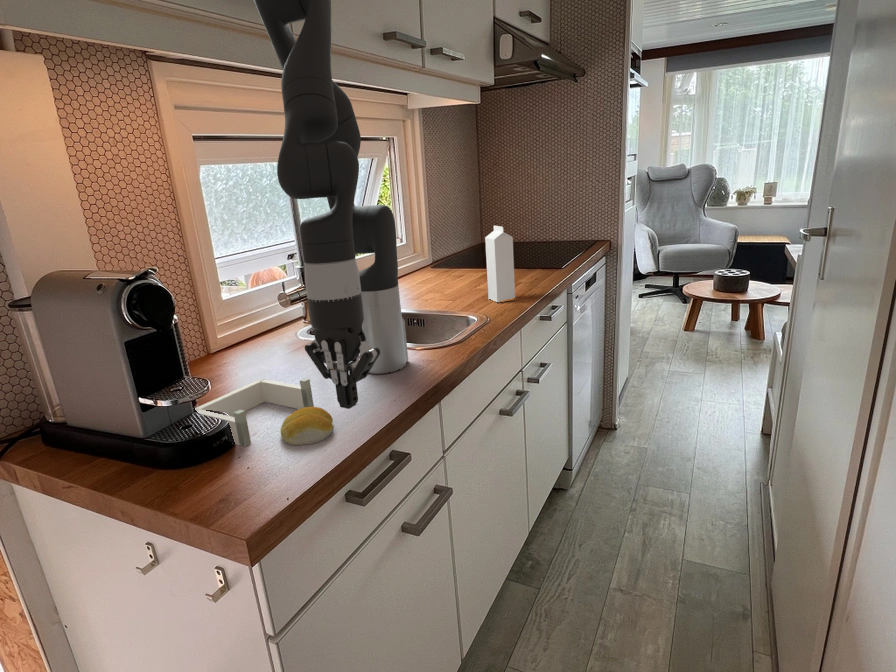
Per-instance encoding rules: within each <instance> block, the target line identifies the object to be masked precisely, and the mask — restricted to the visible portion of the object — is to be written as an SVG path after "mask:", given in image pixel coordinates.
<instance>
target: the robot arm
mask: <svg viewBox="0 0 896 672" xmlns="http://www.w3.org/2000/svg"><path fill="white" fill-rule="evenodd" d="M253 2H254V3H255V4H254V5H255V7H256V9H257V13H258V14H259V17H260V19H261V22H262V23H263V26H264V28H265V31H266V33H267V36H268V38H269V40H270V42H271V46H272V48H273V50H274V52H275V55H276V57H277V59H278V62H279V64H280V66H281V69H282V73H281V87H280V89H281V97H282V103H283V111H284V113H283V114H284V131H283V137H282V142H281V144H280V145H281V146H280V149H279V154H278V157H277V164H276V173H277V174H276V175H277V180H278V184H279V185H280V187H281V189H282V191H283V192H284V193H285V194H286V195H287V196H288V197H290V198H291V199H294V200H306V199H307V200H308V199H319V198H326V199H327V202H328V203H327V204H328V207H329V210H328V211H327V212H324V213H321V214H319V215H314V216H311V217H308V218H306V219H304V220H302V221H301V223H300V226H299V234H300V240H301V241H300V242H301V249H302V254H303V255H302V256H303V262H304V263H303V264H304V284H305V292H306V298H307V305H308V313H309V320H310V326H311V327H312V328H313V329H315V331H314V339H313V341H312V342H310V343H308V344H305V346H304V350H305V353H306V354H307V355H308V356H309V358H310V360H311V361H312V363H313V364H314V365H315V367H316V368H317V370H318V371H319V372H320V374H321V375H322V378H324V379H325V380H328V379H330V380H331V382H332V383H333V384H334V385H335V392H336V398H337V399H336V400H337V402H338V404H339V408H342V409H348V410H350V409H351V408H353V407H355V406H356V405H357V403H358V401H359V396H358V388H357V385H358V384H357V383H358V382H360V381H362V380H364V379H365V378H367V377H368V375H369V374H375V375H379V374H389V372H390V373H394V372H397V370H398V371H400V370H403V369H404V368H405V367H406V366H407V362H408V361H409V353H408V343H407V342H408V341H407V334H406V333H407V332H406V322H405V318H403V317H402V307H401V306H402V305H401V298H400V288H399V279H398V278H399V277H398V275H399V273H398V271H399V262H398V251H397V249H398V248H397V227H396V221H395V216H394V213H393V211H392V209H391V208H390V207H389V206H388V205H384V204H373V205H357V206H356V205H355V204H354V203H355V198H356V193H357V192H356V191H357V188H358V181H359V175H360V162H359V158H358V157H359V154H360V153H359V152H360V149H361V145H362V144H361V142H362V137H361V132H360V129H359V124H358V122H357V118H356V115H355V110H354V107H353V104H352V102H351V100H350V98H349V96H348V95H347V94H346V92H344V91H343V89H342V88H341V87H340V86H339V85H338V84H337V82H335V81H334V80H333V76H332V0H253ZM303 21H304V23H303V25H302V28H301V30H300V33H299V35H298V36H297V39H296V37H295V36H294V33H293V32H292V29H291V28H290V26H289V25H290V24H293V23H294V24H295V23H297V22H303ZM357 254H358V255H361V254H365V255H366V254H374V262H373V263H372V264H371V265H370V266H368V267H367V268H365V269H361V270H359V268H358V265H357V263H358V262H357V258H356V255H357ZM404 366H405V367H404ZM403 367H404V368H403ZM399 369H400V370H399Z"/></svg>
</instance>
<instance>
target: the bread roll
mask: <svg viewBox="0 0 896 672" xmlns="http://www.w3.org/2000/svg"><path fill="white" fill-rule="evenodd" d="M333 422H334V420H333V417H332V415H331V414H330V412H328V411H327V410H325V409H324V408H322V407H317V406H314V407H304V408H301V409H297V410H295V411H294V412H292V413H290V414H289V415H288V416H286V418H284V420H283V422H282V425H281V427H280V437H281V439H282V440H283V442H285V443H286V444H289V445H291V446H304V445H313V444H315V443H319V442H322V441H324V440H325V439H327V438H328V437H329V436H330V435H331V434H332V431H333V429H334V425H333Z"/></svg>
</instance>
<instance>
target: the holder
mask: <svg viewBox="0 0 896 672" xmlns="http://www.w3.org/2000/svg"><path fill="white" fill-rule="evenodd" d="M311 386H312V385H311V380H310V378H305V377H304V378H302V379H299V384H293V383H287V382H282V381H277V380H270V379H265V378H259V379H257V380H256V381H255V380H254V381H253V382H251V383H249V384H246V385H244V386H241V387H239V388H238V389H235V390H233V391H231V392H227V393H226V394H224V395H222V396H220V397H218V398H217V397H216V398H215V399H213V400H211V401H208V402H205V403H204V404H202V405H201V404H200V405H199V406H197V407H194V408H195V410H196V411H197V412H198V413H199V414H202V415H205V416H210V417H214V418H217V419H220V420H225V421H227V422H228V423H229V425H230V427H231V428H230V429H231V432H232V436H233V439H234V442H235V444H234V445H238V446H241V447H247V446H249V445H251V444H252V441H251V435H250V430H249V426H248V419H247V415H246V411H248V410H250V409H253V408H254V407H257V406H259V405H260V404H262V403H269V404H274V405H279V406H283V407H289V408H293V409H297V410H298V409H301V408H304V407H315V405H314V400H313V399H314V398H313V393H312V387H311ZM206 410H213V411H221V412H225V413H227V414H228V415H229V416H227V415H223V414H218V413H214V412H210V411H206Z"/></svg>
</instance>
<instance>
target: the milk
mask: <svg viewBox="0 0 896 672" xmlns="http://www.w3.org/2000/svg"><path fill="white" fill-rule="evenodd" d="M513 238H514V237H513V236H512V235H510V234H509V233H506V232H504V226H500V225H493V231H491V232H490V233H489V234H488V235H486V236H485V237H484V239H485V241H484V243H485V257H486V274H487V275H486V278H487V294H488V295H487V297H488V298H487V299H488V300H489V299H491V300H493V301H496V302H499V301H503V300H507V299H512V298H515V299H516V290H515V289H516V287H515V260H514V259H515V258H514V239H513Z"/></svg>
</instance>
